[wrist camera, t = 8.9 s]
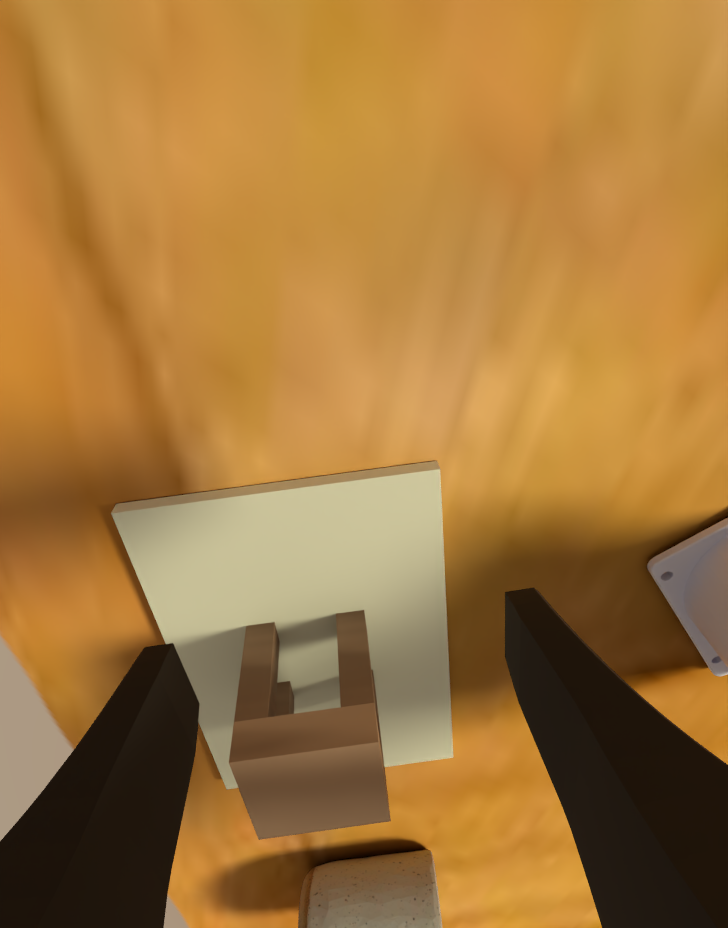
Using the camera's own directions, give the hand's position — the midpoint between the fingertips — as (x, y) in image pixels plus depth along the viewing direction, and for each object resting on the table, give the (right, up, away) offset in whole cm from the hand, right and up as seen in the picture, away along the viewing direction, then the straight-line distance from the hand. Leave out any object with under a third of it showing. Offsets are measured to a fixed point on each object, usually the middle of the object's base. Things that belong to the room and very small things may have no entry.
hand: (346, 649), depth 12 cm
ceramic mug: (+1, -23, +25) cm, 34 cm away
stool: (-2, -5, +13) cm, 14 cm away
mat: (-2, -4, +13) cm, 14 cm away
